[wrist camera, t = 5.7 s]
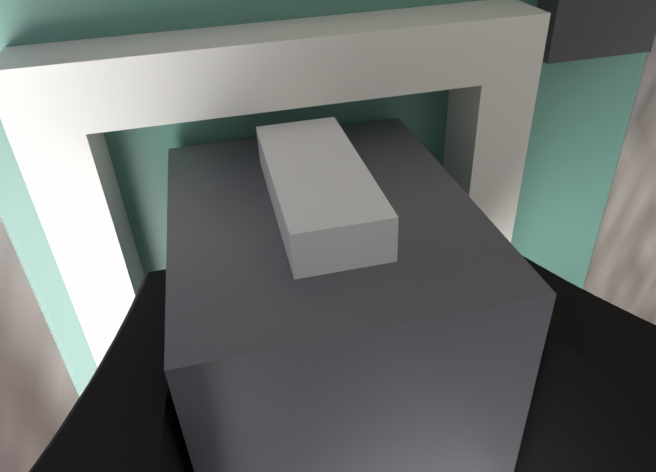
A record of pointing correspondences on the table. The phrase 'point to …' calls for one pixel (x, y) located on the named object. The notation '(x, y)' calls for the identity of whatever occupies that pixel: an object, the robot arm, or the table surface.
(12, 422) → the table surface
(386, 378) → the plug
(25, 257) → the board
